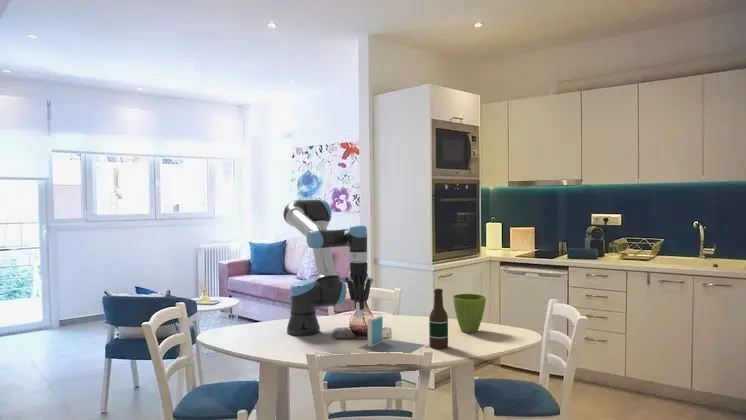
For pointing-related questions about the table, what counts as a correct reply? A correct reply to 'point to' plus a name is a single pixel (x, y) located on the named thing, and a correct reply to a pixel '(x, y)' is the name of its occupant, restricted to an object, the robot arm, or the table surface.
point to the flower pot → (469, 311)
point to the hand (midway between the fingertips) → (359, 317)
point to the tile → (375, 330)
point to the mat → (393, 346)
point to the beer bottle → (438, 323)
